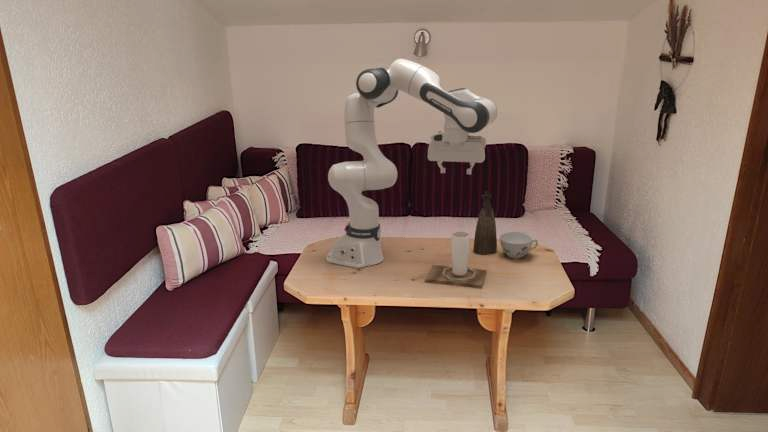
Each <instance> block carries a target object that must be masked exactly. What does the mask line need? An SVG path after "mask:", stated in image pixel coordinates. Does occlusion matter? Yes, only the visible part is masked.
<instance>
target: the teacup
mask: <svg viewBox="0 0 768 432" xmlns="http://www.w3.org/2000/svg"><path fill="white" fill-rule="evenodd" d="M499 242H500V247H501V249H502V250H503V253H505V254H506V256H507V257H508V258H510V259H517V260H519V259H521V258H523V257H524V256H526V254H527V253H529V251H532V250H534V249H536V248H537V247H538V246H539V245H538V244H539V240H538V239H536V238H534V237H533V236H532V235H530V234H528V233H525V232H520V231H506V232H504V233H501V234H500V235H499ZM533 243H535V245H534V246H532V245H533Z"/></svg>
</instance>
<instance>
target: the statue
mask: <svg viewBox="0 0 768 432" xmlns="http://www.w3.org/2000/svg"><path fill="white" fill-rule="evenodd" d="M480 197H481V200H482V201H483V202H482V205H483V207H481V208H480V212H479V215H478V218H477V221H476V222H477V223H476V227H475V232H474V238H473V239H474V240H473V254H475V255H491V254H492V255H493V254H495V253H497V251H498V250H497V248H498V246H497V244H498V241H497V225H496V217H495V213H494V209H493V207H492V204H491V201H490V200H491V199H492V195H491V194H488V191H487V190H485V192H484V194H482V195H480Z"/></svg>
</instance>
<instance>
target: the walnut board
mask: <svg viewBox="0 0 768 432" xmlns="http://www.w3.org/2000/svg"><path fill="white" fill-rule="evenodd" d="M486 275H487V269H478V268H470V267H469V266H467V274H466V275H464V276H457V275H454V274H453V273H452V265H451V266H450V265H440V264H439V265H438V264H432V265H431V266H430V269H429V271H428V273H427V274H426V276H425V278H424V283H429V284H437V285H448V286H456V287H464V288H473V289H474V288H475V289H483V286H484V283H485V279H486Z"/></svg>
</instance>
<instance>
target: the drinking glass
mask: <svg viewBox="0 0 768 432" xmlns="http://www.w3.org/2000/svg"><path fill="white" fill-rule="evenodd" d="M470 248H471V234H470V233H469V232H467V231H461V230H458V231H453V232H452V233H450V252H451V253H450V254H451V267H452V273H453V274H454V275H457V276H464V275H466V274H467V267H469V266H468V265H469V258H470V257H469V256H470Z"/></svg>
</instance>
